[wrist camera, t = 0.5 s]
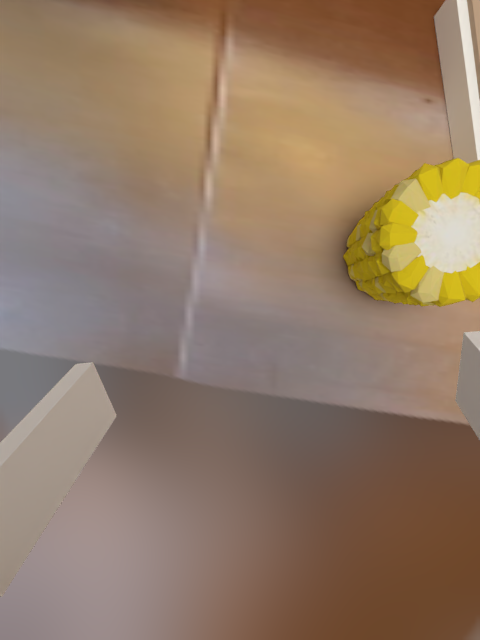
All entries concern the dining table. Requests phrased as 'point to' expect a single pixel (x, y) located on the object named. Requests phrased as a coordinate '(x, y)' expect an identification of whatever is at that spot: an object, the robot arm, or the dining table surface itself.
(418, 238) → the food
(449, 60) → the plinth
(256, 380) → the dining table surface
